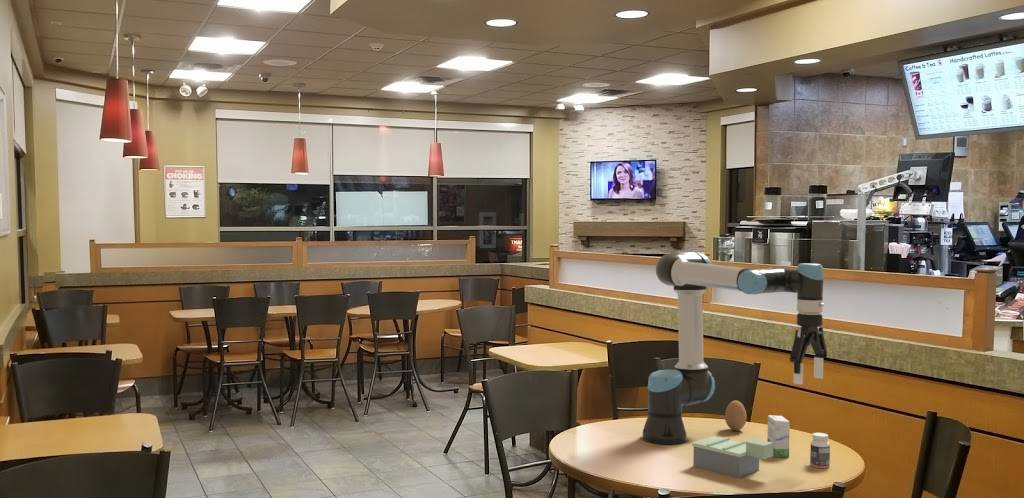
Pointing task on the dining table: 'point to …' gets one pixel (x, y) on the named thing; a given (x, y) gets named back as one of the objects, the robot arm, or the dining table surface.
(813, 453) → the pill bottle
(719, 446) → the lid
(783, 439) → the ink box
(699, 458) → the tub
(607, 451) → the dining table surface
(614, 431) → the dining table surface
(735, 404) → the egg
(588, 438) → the dining table surface
